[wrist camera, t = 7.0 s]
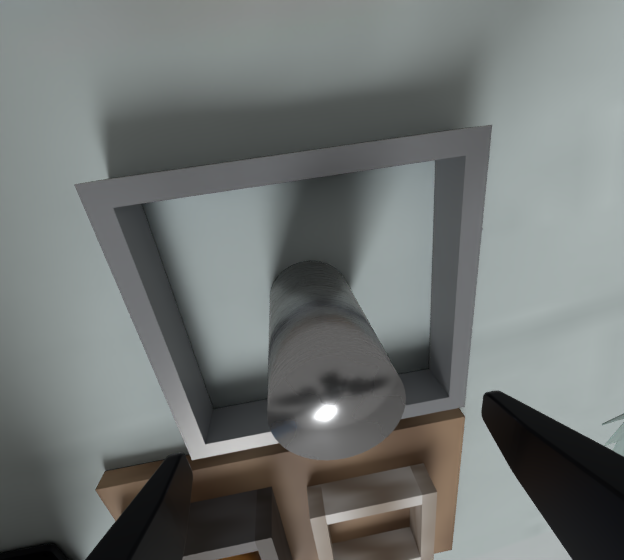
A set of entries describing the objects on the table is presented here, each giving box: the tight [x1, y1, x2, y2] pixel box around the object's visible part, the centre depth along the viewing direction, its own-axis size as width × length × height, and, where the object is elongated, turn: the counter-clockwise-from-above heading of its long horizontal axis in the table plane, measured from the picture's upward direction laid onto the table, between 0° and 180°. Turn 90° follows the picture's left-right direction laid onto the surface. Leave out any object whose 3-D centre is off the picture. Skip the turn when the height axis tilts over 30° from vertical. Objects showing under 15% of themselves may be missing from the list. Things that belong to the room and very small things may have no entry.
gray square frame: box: [74, 125, 492, 460], centre depth 16 cm, size 16×15×2 cm
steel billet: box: [267, 261, 406, 460], centre depth 13 cm, size 4×4×8 cm
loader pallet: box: [95, 408, 465, 560], centre depth 22 cm, size 24×16×4 cm, turn 97°
